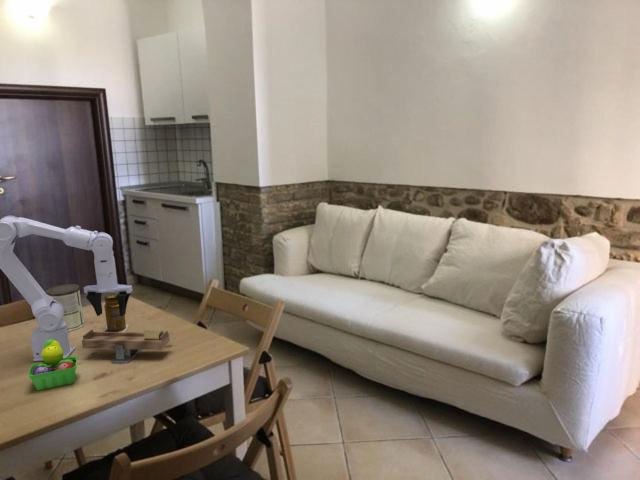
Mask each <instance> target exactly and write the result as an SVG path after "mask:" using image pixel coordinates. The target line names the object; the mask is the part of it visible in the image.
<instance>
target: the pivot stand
mask: <svg viewBox="0 0 640 480" xmlns="http://www.w3.org/2000/svg"><path fill="white" fill-rule="evenodd" d="M114 350H115V351H114V352H115V357H114V358H112V359H111V364H130V362H131V361H132V360H133V359H134V358H135V357H136V356H137V355H138V354H139V353H140V352H141V351H142V350H140V349H125V346H124V344H116V345H115V349H114Z"/></svg>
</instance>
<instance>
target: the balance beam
mask: <svg viewBox="0 0 640 480" xmlns="http://www.w3.org/2000/svg"><path fill="white" fill-rule="evenodd" d="M170 341H171V339H170V332H168V330H164V333H163V334H162V335H161V336H160V340H144V332H143V331H142V332H141V331H140V332H138V331H137V332H135V331H133V332H131V331H126V332H104V331H94V329H91V330H89V331H87V332H86V333H84V335H82V339H81V343H82V344H81V345H82V346H81V347H82V349H88V350H89V349H90V350H91V349H94V350H95V349H96V350H98V349H99V350H101V349H102V350H103V349H104V350H115V345H116V344H124V346H125V349H140V350H141V351H144V350H145V351H146V350H147V351H148V350H150V351H153V350H154V351H162V350H163V349H164V347H166V346H167V344H169V342H170Z"/></svg>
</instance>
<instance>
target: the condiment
mask: <svg viewBox="0 0 640 480" xmlns="http://www.w3.org/2000/svg"><path fill="white" fill-rule="evenodd" d="M118 294H119V293H109V294H108V295H105V297H104V303H105V304H104V313H105V323H106V327H105V329H104V330H103V332H127V330H128V327H129V325H130V323H126V322H127V321H126V314H125V315H123V316H120V311H119V304H118V301H117V299H116V295H118Z"/></svg>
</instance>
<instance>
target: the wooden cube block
mask: <svg viewBox="0 0 640 480" xmlns="http://www.w3.org/2000/svg"><path fill="white" fill-rule="evenodd" d="M142 332H144V340H160V336H161V335H162V334H163V333H164V332H165V327H164V324H148V325H147V326H146V327H145V328H143V330H142Z"/></svg>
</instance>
